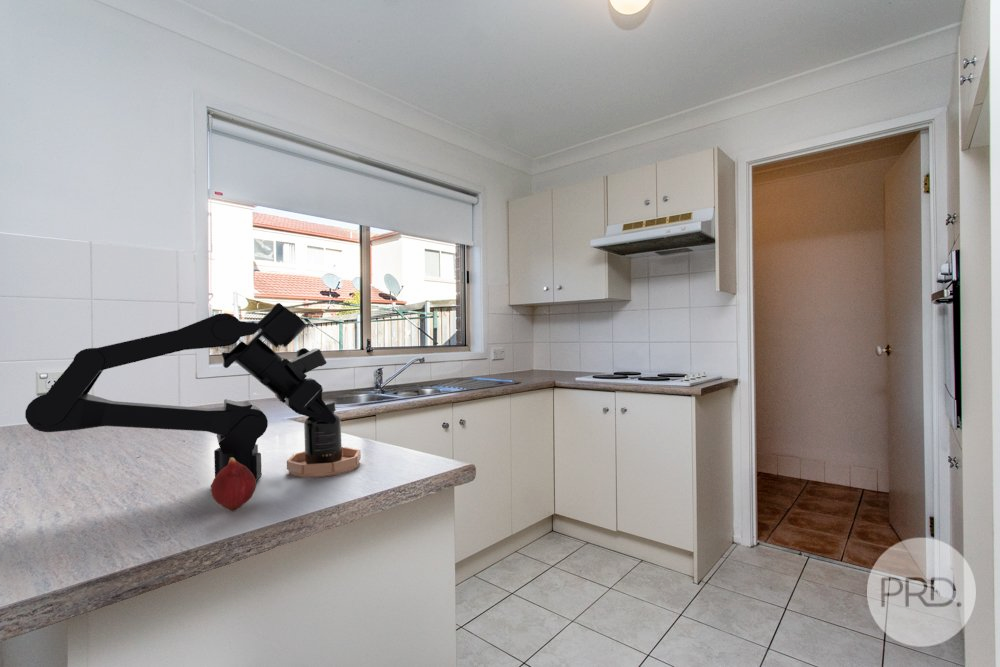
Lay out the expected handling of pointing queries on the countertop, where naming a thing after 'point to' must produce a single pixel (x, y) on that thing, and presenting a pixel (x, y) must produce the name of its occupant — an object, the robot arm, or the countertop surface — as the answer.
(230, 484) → the onion
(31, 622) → the countertop surface
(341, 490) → the countertop surface
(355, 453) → the terracotta saucer
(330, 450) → the supplement bottle
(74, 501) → the countertop surface
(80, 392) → the robot arm
